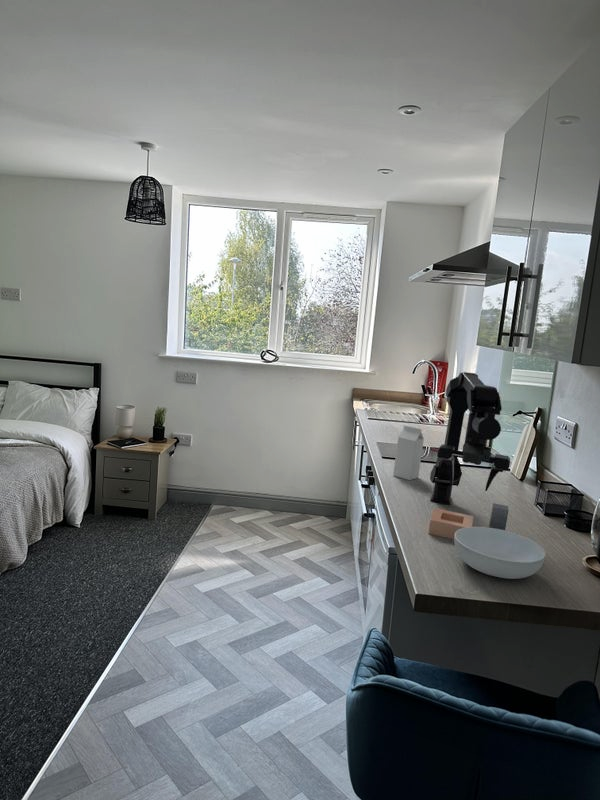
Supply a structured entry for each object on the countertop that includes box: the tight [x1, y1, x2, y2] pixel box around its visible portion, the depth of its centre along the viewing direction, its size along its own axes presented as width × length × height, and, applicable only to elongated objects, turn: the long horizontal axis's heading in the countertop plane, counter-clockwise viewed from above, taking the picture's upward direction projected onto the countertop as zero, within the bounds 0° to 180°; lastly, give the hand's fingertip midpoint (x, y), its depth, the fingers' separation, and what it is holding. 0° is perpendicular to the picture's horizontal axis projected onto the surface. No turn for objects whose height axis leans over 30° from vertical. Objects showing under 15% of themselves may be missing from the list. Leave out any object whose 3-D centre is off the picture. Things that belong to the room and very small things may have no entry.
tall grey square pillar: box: [488, 502, 510, 531], centre depth 150 cm, size 4×4×10 cm
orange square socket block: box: [428, 507, 474, 540], centre depth 155 cm, size 11×11×4 cm
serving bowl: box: [453, 526, 547, 580], centre depth 133 cm, size 21×21×7 cm
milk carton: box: [392, 425, 425, 481], centre depth 205 cm, size 7×7×19 cm
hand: (468, 487), depth 151 cm, fingers open, 9 cm apart
